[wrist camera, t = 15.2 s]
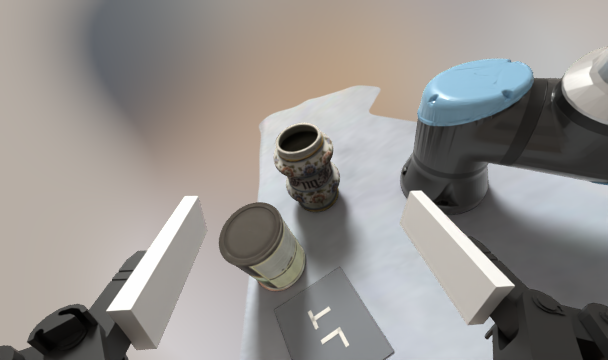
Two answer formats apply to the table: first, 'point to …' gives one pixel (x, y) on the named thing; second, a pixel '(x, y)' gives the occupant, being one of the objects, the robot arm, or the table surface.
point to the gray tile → (331, 323)
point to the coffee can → (262, 246)
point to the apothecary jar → (307, 166)
